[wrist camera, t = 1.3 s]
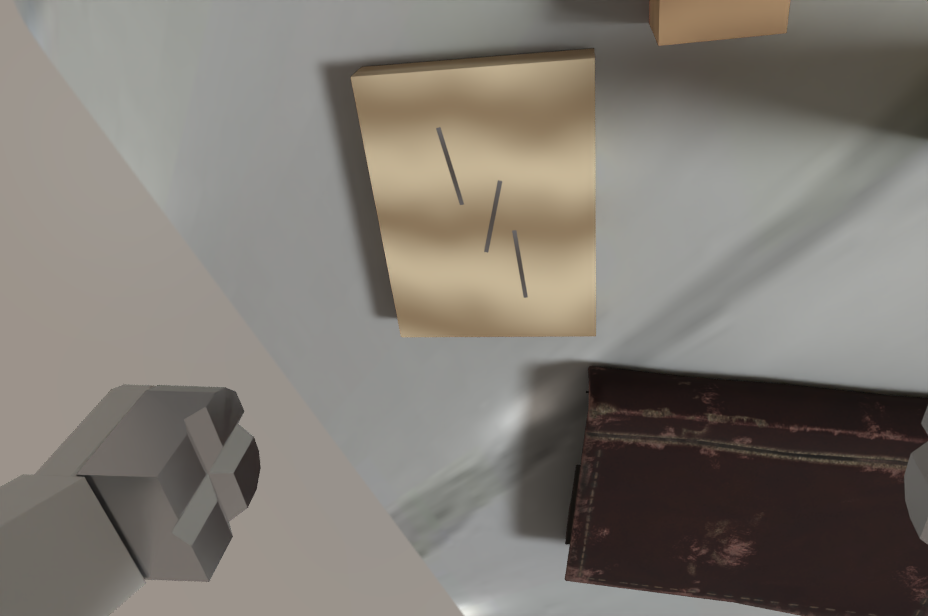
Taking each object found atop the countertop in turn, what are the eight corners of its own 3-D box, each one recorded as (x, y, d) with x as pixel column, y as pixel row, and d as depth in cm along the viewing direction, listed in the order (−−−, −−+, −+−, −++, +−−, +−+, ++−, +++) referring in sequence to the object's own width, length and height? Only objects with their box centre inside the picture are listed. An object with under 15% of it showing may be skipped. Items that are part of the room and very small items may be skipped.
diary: (589, 353, 44) (590, 402, 40) (1000, 389, 41) (1047, 447, 37) (564, 538, 54) (563, 594, 50) (894, 578, 51) (921, 641, 47)
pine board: (361, 66, 35) (350, 77, 34) (594, 48, 33) (594, 58, 32) (407, 319, 44) (401, 337, 42) (595, 317, 42) (595, 336, 40)
